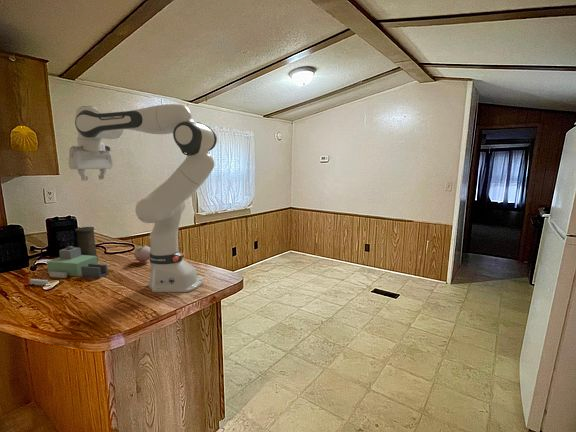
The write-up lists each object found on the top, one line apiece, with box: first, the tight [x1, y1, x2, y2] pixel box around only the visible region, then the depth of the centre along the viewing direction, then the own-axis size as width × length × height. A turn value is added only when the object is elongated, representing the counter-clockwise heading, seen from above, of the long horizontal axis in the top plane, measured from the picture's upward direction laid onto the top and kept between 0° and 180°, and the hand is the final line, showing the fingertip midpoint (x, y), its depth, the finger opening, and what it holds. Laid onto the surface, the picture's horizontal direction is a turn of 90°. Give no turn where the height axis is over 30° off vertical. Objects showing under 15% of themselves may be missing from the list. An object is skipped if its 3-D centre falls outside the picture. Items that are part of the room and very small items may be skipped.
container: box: [74, 226, 99, 261], centre depth 162 cm, size 9×9×18 cm
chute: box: [81, 263, 109, 279], centre depth 143 cm, size 5×9×5 cm, turn 80°
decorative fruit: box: [133, 243, 151, 263], centre depth 162 cm, size 9×8×10 cm
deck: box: [29, 245, 99, 286], centre depth 143 cm, size 16×24×11 cm, turn 170°
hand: (93, 179), depth 133 cm, fingers open, 8 cm apart
